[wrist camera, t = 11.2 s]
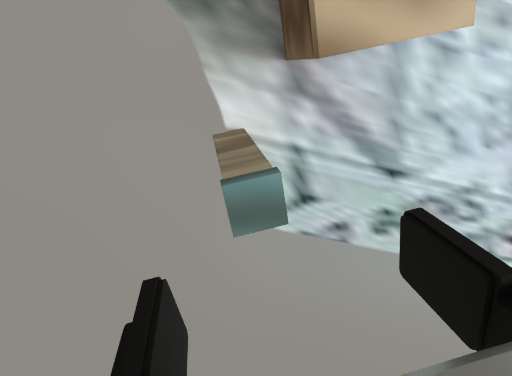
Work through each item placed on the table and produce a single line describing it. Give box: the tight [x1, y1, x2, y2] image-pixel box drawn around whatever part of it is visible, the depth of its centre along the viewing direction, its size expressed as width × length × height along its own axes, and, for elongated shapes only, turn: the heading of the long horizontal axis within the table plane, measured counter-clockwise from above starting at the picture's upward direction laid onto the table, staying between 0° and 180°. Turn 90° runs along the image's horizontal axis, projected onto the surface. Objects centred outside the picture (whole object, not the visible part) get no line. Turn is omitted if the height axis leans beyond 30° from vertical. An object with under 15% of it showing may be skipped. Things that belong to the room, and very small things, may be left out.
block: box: [213, 128, 288, 237], centre depth 24 cm, size 4×4×14 cm
